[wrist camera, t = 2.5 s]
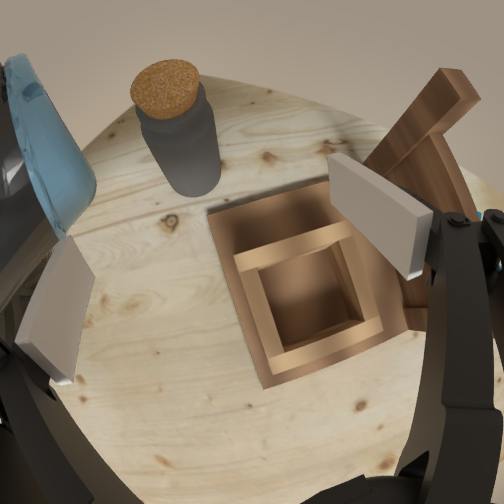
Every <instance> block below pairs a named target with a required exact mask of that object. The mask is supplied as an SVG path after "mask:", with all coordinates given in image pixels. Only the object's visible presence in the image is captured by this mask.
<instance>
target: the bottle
mask: <svg viewBox="0 0 504 504" xmlns="http://www.w3.org/2000/svg"><path fill="white" fill-rule="evenodd" d="M130 94H131V98H132V100H133V102H134V103H135V104H136V114H137V116H138V118H139V120H140V122H141V131H142V135H143V137H144V139H145V141H146V143H147V145H148V147H149V149H150V151H151V152H152V154H153V156H154V158H155V159H156V161H157V163H158V165H159V166H160V168H161V170H162V171H163V173H164V175H165V177H166V178H167V180H168V182H169V183H170V185H171V186H172V188H173V189H174V190H175V191H176V192H177V193H179V194H181V195H183V196H186V197H199V196H203V195H205V194H207V193H209V192H210V191H211V190H213V189H214V187H215V186H216V185H217V183H218V182H219V179H220V176H221V164H220V156H219V149H218V142H217V135H216V128H215V121H214V115H213V111H212V108H211V105H210V104H209V102H208V101H207V100H206V94H205V90H204V87H203V85H202V84H201V82H200V81H199V73H198V70H197V69H196V67H195V66H193V65H192V64H191V63H189V62H187V61H183V60H177V59H176V60H175V59H174V60H164V61H160V62H157V63H155V64H152V65H151V66H149V67H147V68H146V69H144V70H143V71H142V72H140V74H139V75H138V76H137V77H136V78H135V80H134V81H133V83H132V85H131V90H130Z"/></svg>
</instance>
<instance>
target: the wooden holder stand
mask: <svg viewBox="0 0 504 504" xmlns="http://www.w3.org/2000/svg"><path fill="white" fill-rule="evenodd" d="M480 100H481V98H480V97H479V95H478V93H477V92H476V90H475V89H474V87H473V86H472V84H471V83H470V81H469V80H468V79H467V77H466V76H465V74H464V73H463V72H462V70H458V69H449V68H439V69H438V71H437V72H436V73H435V74H434V76H433V77H432V78H431V80H430V81H429V82H428V84H427V85H426V86H425V87H424V89H423V90H422V91H421V92H420V94H419V95H418V96H417V98H416V99H415V100H414V101H413V102H412V104H411V105H410V106H409V108H408V109H407V110H406V111H405V113H404V114H403V115H402V116H401V117H400V119H399V120H398V121H397V123H396V124H395V125H394V126H393V127H392V129H391V130H390V131H389V132H388V134H387V135H386V136H385V137H384V138H383V140H382V141H381V142H380V143H379V145H378V146H377V147H376V148H375V149H374V151H373V152H372V153H371V154H370V155H369V157H368V158H367V159H366V160H365V161H364V163H363V164H362V165H364V166H365V167H367V168H369V169H370V170H372V171H374V172H375V173H377V174H378V175H380V176H382V177H383V178H385V179H386V180H388V181H389V182H391V183H393V184H394V185H396V186H398V185H399V186H401V187H404V188H407V189H409V190H411V191H412V192H414V193H415V194H417V196H420V197H421V198H423V200H426V201H427V202H429V203H430V204H431V205H433V206H434V207H436V208H437V209H439V210H440V211H441V212H443V213H446V212H457V213H460V214H463V215H465V216H466V217H468V218H469V219H470V220H471V222H477V221H480V218H479V215H478V212H477V210H476V207H475V204H474V202H473V199H472V197H471V194H470V192H469V189H468V187H467V185H466V182H465V180H464V178H463V175H462V173H461V171H460V169H459V167H458V164H457V163H456V160H455V159H454V156H453V154H452V152H451V150H450V148H449V146H448V144H447V142H446V140H445V139H444V137H443V134H444V133H445V132H446V131H447V130H448V129H449V128H451V127H452V126H453V125H454V124H455V123H456V122H457V121H458V120H459V119H460V118H462V117H463V116H464V115H465V114H466V113H467V112H468V111H469V110H470V109H471V108H472V107H473V106H474V105H475V104H476V103H477V102H479V101H480ZM207 218H208V221H209V225H210V228H211V231H212V235H213V238H214V241H215V244H216V248H217V251H218V254H219V257H220V261H221V264H222V267H223V270H224V273H225V277H226V280H227V283H228V286H229V289H230V292H231V295H232V298H233V302H234V305H235V308H236V311H237V314H238V317H239V320H240V323H241V326H242V329H243V332H244V335H245V338H246V341H247V344H248V347H249V350H250V353H251V356H252V358H253V361H254V364H255V367H256V370H257V373H258V376H259V379H260V382H261V384H262V387H263V390H264V389H267V388H270V387H273V386H276V385H279V384H282V383H285V382H288V381H291V380H294V379H297V378H299V377H302V376H305V375H308V374H310V373H313V372H315V371H318V370H321V369H323V368H326V367H328V366H331V365H333V364H336V363H338V362H340V361H343V360H345V359H347V358H350V357H352V356H354V355H357V354H359V353H361V352H363V351H366V350H368V349H370V348H372V347H374V346H376V345H378V344H381V343H383V342H385V341H387V340H389V339H391V338H393V337H395V336H397V335H399V334H401V333H403V332H405V331H407V330H415V331H423V332H426V331H427V317H428V298H429V288H428V290H427V289H425V288H426V284H427V281H428V277H429V273H430V269H431V267H430V266H429V265H428V264H427V263H426V262H425V263H424V267H423V272H422V274H421V275H419V276H417V277H415V278H413V279H410V280H408V281H407V280H406V279H405V278H404V277H403V276H402V275H401V274H400V272H399V271H398V270H397V269H396V268H395V267H394V266H393V265H392V264H391V263H390V262H389V261H388V260H387V259H386V258H385V257H384V255H383V254H382V253H381V252H380V251H379V250H378V249H377V248H376V247H375V246H374V245H373V244H372V243H371V242H370V241H369V240H368V239H367V238H366V237H365V236H364V235H363V234H362V233H361V232H360V231H359V230H358V229H357V228H356V227H355V226H354V225H353V224H352V223H351V222H350V221H349V220H348V219H347V218H346V217H344V216H343V215H342V214H341V213H340V212H339V211H338V210H337V209H336V208H335V207H334V206H333V205H332V204H331V198H330V184H329V181H325V182H321V183H317V184H314V185H310V186H306V187H302V188H299V189H295V190H292V191H288V192H284V193H281V194H277V195H274V196H270V197H267V198H263V199H260V200H256V201H253V202H250V203H246V204H243V205H240V206H236V207H233V208H230V209H226V210H223V211H220V212H217V213H214V214H210V215H207ZM492 336H493V338H495V337H494V334H493V331H492Z"/></svg>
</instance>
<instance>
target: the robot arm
mask: <svg viewBox="0 0 504 504" xmlns="http://www.w3.org/2000/svg"><path fill="white" fill-rule="evenodd" d="M327 162H328V173H329V184H330V198H331V204H332V205H333V206H334V207H335V208H336V209H337V210H338V211H339V212H340V213H341V214H342V215H343V216H344V217H346V218H347V219H348V220H349V221H350V222H351V223H352V224H353V225H354V226H355V227H356V228H357V229H358V230H359V231H360V232H361V233H362V234H363V235H364V236H365V237H366V238H367V239H368V240H369V241H370V242H371V243H372V244H373V245H374V246H375V247H376V248H377V249H378V250H379V251H380V252H381V253H382V254H383V255H384V257H385V258H386V259H387V260H388V261H389V262H390V263H391V264H392V265H393V266H394V267H395V268H396V269H397V270H398V271H399V272H400V274H401V275H402V276H403V277H404V278H405V279H406V280H407V281H408V280H410V279H413V278H415V277H417V276H419V275H421V274H422V272H423V267H424V263H425V262H426V263H427V264H428V265H429V266H430V267H431V269H430V273H429V277H428V281H427V284H426V288H425V289H427V290H428V288H429V298H428V317H427V331H426V341H425V351H424V359H423V367H422V374H421V380H420V386H419V392H418V397H417V403H416V408H415V413H414V417H413V422H412V426H411V430H410V434H409V438H408V440H407V443H406V445H405V447H404V449H403V451H402V453H401V456H400V458H399V461H398V464H397V467H396V471H395V474H394V476H376V477H369V478H365V476H364V474H363V475H360V476H358V477H356V478H354V479H351V480H349V481H346V482H344V483H342V484H339V485H337V486H334V487H331V488H329V489H326V490H323V491H320V492H319V493H317V494H316V495H314V496H312V497H311V498H309V499H307V500H306V501H304V502H302V503H300V504H494V503H490V501H491V497H492V493H493V488H494V484H495V480H496V475H497V469H498V464H499V458H500V451H501V444H502V435H503V415H502V413H501V411H500V410H498V409H496V408H495V407H494V402H493V397H494V353H493V336H492V331H493V334H494V337H495V341H496V344H497V348H498V351H499V355H500V359H501V363H502V367H503V371H504V213H503V212H502V211H500V210H497V209H487V210H486V211H484V216H483V220H482V221H477V222H471V220H470V219H469V218H468V217H466V216H465V215H463V214H460V213H457V212H446V213H443V212H441V211H440V210H439V209H437V208H436V207H434V206H433V205H431V204H430V203H429V202H427V201H426V200H423V198H421V197H420V196H417V194H415V193H414V192H412V191H411V190H409V189H407V188H404V187H401V186H399V185H398V186H396V185H394V184H393V183H391V182H389V181H388V180H386V179H385V178H383V177H382V176H380V175H378V174H377V173H375V172H374V171H372V170H370V169H369V168H367V167H365V166H364V165H362V164H360V163H359V162H357V161H355V160H353V159H352V158H350V157H348V156H346V155H345V154H343V153H341V152H338V153H333V154H329V155H327ZM96 186H97V184H96V177H95V174H94V172H93V170H92V168H91V166H90V165H89V163H88V161H87V160H86V158H85V157H84V155H83V153H82V152H81V150H80V149H79V147H78V145H77V144H76V142H75V140H74V139H73V137H72V136H71V134H70V132H69V131H68V129H67V127H66V126H65V124H64V122H63V121H62V119H61V117H60V116H59V114H58V112H57V110H56V108H55V107H54V105H53V103H52V101H51V100H50V98H49V96H48V94H47V93H46V91H45V89H44V87H43V85H42V84H41V82H40V80H39V78H38V77H37V75H36V73H35V71H34V69H33V67H32V65H31V63H30V61H29V59H28V57H27V56H26V55H25V54H23V53H21V54H17V55H16V56H14V57H9V58H8V59H7V61H6V62H5V66H3V65H2V64H1V63H0V418H1V422H2V423H1V424H0V504H144V503H143V502H142V501H141V500H140V499H139V498H138V497H137V496H136V495H135V494H134V493H133V492H132V491H131V490H130V489H129V488H128V487H127V486H126V485H125V484H124V483H123V482H122V481H121V480H120V479H119V477H118V476H117V475H116V474H115V473H114V472H113V471H112V469H111V468H110V467H109V466H108V465H107V464H106V462H105V461H104V460H103V459H102V458H101V456H100V455H99V454H98V453H97V451H96V450H95V449H94V447H93V446H92V445H91V444H90V442H89V441H88V440H87V438H86V437H85V435H84V434H83V433H82V431H81V430H80V429H79V427H78V426H77V424H76V423H75V421H74V420H73V418H72V417H71V415H70V414H69V412H68V411H67V409H66V408H65V406H64V405H63V403H62V401H61V400H60V398H59V397H58V395H57V393H56V392H55V390H54V389H53V388H52V387H51V386H50V385H49V380H50V377H51V378H52V379H53V380H54V381H55V382H56V383H57V384H58V385H65V384H71V383H73V381H74V374H75V367H76V361H77V355H78V350H79V344H80V339H81V334H82V329H83V324H84V320H85V315H86V311H87V307H88V303H89V298H90V295H91V291H92V287H93V283H94V279H95V276H94V274H93V273H92V271H91V269H90V268H89V266H88V264H87V263H86V261H85V259H84V258H83V256H82V254H81V252H80V251H79V249H78V247H77V245H76V243H75V242H74V240H73V238H72V236H71V235H70V236H67V237H66V232H67V231H68V229H69V228H70V227H71V226H72V225H73V224H74V222H75V221H76V220H77V219H78V218H79V217H80V216H81V214H82V213H83V212H84V211H85V210H86V209H87V208H88V207H89V205H90V204H91V202H92V201H93V199H94V196H95V193H96ZM58 241H59V242H58ZM57 242H58V243H57ZM56 243H57V245H56ZM55 245H56V247H55V249H54V251H53V253H52V255H51V257H50V259H49V261H48V263H46V262H44V261H42V260H43V259H44V257H45V256H46V255H47V254H48V253H49V251H50V250H51V249H52V248H53V247H54V246H55ZM500 260H501V264H502V268H501V269H500V267H499V263H500Z"/></svg>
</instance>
